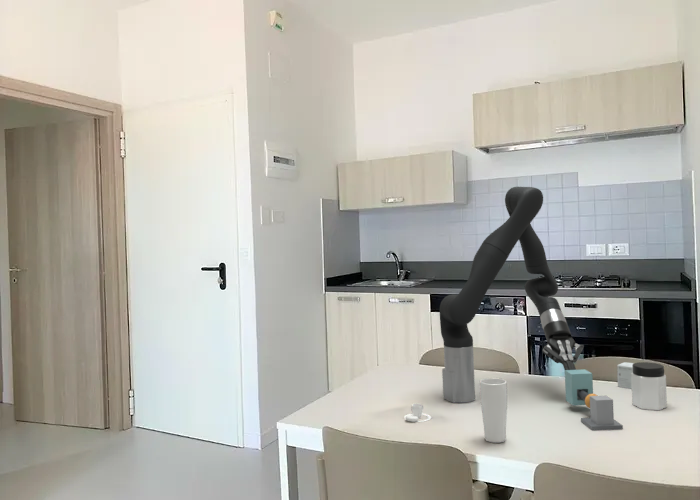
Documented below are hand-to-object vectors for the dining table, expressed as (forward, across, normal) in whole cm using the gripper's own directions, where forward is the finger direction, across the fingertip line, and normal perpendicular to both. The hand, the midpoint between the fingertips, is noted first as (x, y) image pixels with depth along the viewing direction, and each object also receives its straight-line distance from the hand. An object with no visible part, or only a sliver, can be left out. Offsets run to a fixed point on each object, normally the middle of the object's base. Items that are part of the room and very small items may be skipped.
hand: (571, 373), depth 166 cm
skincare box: (-5, +26, +18) cm, 32 cm away
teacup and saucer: (+11, -51, +3) cm, 52 cm away
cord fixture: (+14, 0, -1) cm, 14 cm away
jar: (+10, +20, +3) cm, 23 cm away
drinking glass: (+25, -30, -12) cm, 41 cm away
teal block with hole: (+9, 0, +2) cm, 9 cm away
